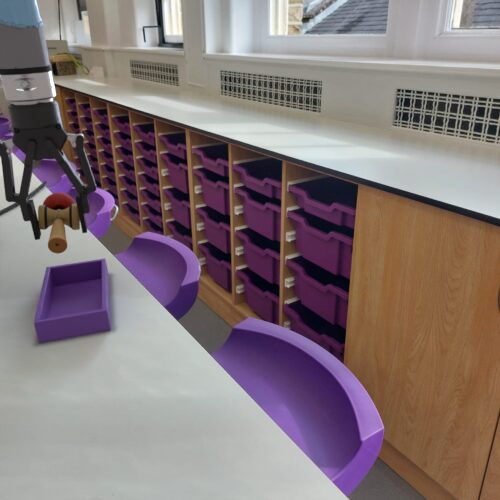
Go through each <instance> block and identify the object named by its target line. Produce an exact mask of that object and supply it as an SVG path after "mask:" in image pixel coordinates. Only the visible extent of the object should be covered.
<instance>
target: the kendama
mask: <svg viewBox="0 0 500 500" xmlns="http://www.w3.org/2000/svg"><path fill="white" fill-rule="evenodd" d="M37 207H38V208H37V218H38V224H39V228H40V230H43V231H45V230H47V229H49V227H51V229H50V234H49V238H48V241H47V249H48V250H49V251H50V252H51V253H53V254H62V253H64V252H65V251H66V250H67V249H68V240H67V233H66V227H65V226H67V227H68V228H69V229H71V230H73V231H80V229H81V223H80V218H79V213H78V208H77V203H76V200H75V199H74V198H73V197H71V196H70V195H69V194H67V193H65V192H54V193H50V195H48V196H47V197H46V198H45V199H44V200H43V203H42V204H39V205H38V206H37Z"/></svg>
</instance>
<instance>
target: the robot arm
mask: <svg viewBox="0 0 500 500" xmlns="http://www.w3.org/2000/svg"><path fill="white" fill-rule="evenodd" d="M0 81H1V86H2V89H3V93H4V97H5V100H6V101H7V102H9V105H8V107H7V110H8V113H9V117H10V123H11V126H12V131H13V135H12V138H10V139H6V140H2V139H1V140H0V161H1V169H2V176H3V177H2V180H3V186H4V187H3V188H4V197H5V201H6V202H7V203H12V204H10V205H9V206H7V207H4V208H2V209H0V215H2V214H4V213H6V212H7V211H9V210H11V209H14V208H15V207H17V206H19V207H20V212H21V216H22V219H23V221H24V222H30V225H31V229H32V233H33V237H34V240H35V241H38V240H41V237H42V232H41V229H40V228H39V224H38V213H37V210H36V205H35V202H34V199H33V198H32V199H31V197H33V196H34V195H35V194H37V192H39V191H40V190H41V189H43V187H45V186H46V184H47V183H48V181H47V180H44V181H43V182H42V183H41V184H40V185H39V186H37V187H36V188H35V189H34V190H33V191H31V192H30V188H31V183H32V176H33V172H34V171H33V170H34V165H35V162H37V161H38V162H39V161H42V160H55V162H56V163H57V164H58V165H59V166H60V168H61V170H62V171H63V173H64V174H65V175H66V177H67V179H68V180H69V181H70V184H71V185H72V186H73V188H74V189H75V192H77V193H75V203H76V204H77V208H78V213H79V218H80V229H81V232H82V234H87V233H88V224H87V219H86V214H90V211H91V206H90V201H89V194H91V193H95V192H96V191H97V182H96V179H95V175H94V173H93V170H92V167H91V163H90V161H89V157H88V155H87V152H86V149H85V135H84V133H82V132H79V133H68V131H66V129H65V128H64V126H63V121H62V117H61V116H62V115H61V111H60V106H59V102H58V101H57V100H55V98H56V96H57V91H56V87H55V80H54V76H53V71H52V69H51V61H50V56H49V51H48V46H47V41H46V35H45V30H44V21H43V19H42V18H41V14H40V10H39V5H38V2H37V0H0ZM67 141H69V142H70V144H71V147H73V148H75V151H76V155H77V158H78V161H79V164H80V166H81V170H82V173H83V176H84V178H85V181H86V184H84V182H83V181H82V179H81V178H80V176H79V174H78V173H77V172H76V170H75V169H74V167H73V165H72V164H71V162H70V161H69V160H68V158H67V156H66V154H65V152H64V151H63V148H64V146H65V144H66V142H67ZM14 146H15V147H17V148H18V149H19V150H20V151H21V153H23V154H24V155H25V158H24V164H23V171H22V176H21V182H20V188H19V193H17V192H16V185H15V175H14V166H13V165H14V163H13V156H12V153H13V152H14Z"/></svg>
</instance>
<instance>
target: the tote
mask: <svg viewBox="0 0 500 500" xmlns="http://www.w3.org/2000/svg"><path fill="white" fill-rule="evenodd" d="M110 301H111V300H110V276H109V271H108V264H107V259H106V258H99V259H92V260H85V261H79V262H73V263H65V264H58V265H51V266H46V268H45V272H44V277H43V281H42V286H41V290H40V294H39V299H38V303H37V306H36V312H35V316H34V321H33V326H34V329H35V334H36V337H37V341H38V344H44V343H48V342H54V341H59V340H66V339H70V338H71V339H72V338H77V337H82V336H87V335H92V334H98V333H102V332H103V333H104V332H109V331H111V329H112V327H111V325H112V324H111V302H110Z"/></svg>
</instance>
